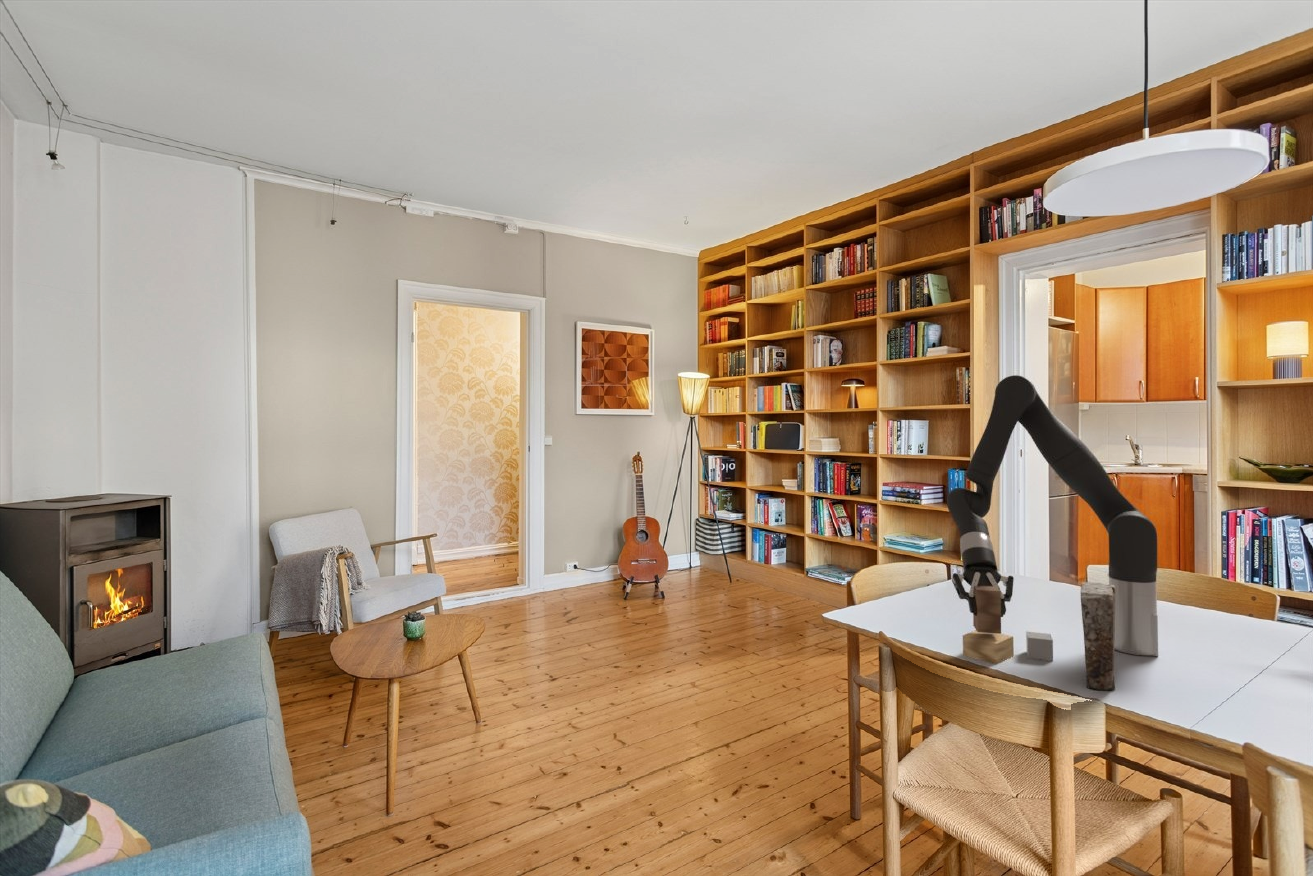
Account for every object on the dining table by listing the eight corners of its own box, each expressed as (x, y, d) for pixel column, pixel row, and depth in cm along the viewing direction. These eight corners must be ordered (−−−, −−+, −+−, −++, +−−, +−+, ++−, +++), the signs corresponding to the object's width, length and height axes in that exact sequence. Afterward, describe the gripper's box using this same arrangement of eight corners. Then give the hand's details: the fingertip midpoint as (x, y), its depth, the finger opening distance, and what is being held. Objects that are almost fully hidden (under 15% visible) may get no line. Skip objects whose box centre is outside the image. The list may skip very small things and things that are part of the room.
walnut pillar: (996, 627, 153) (995, 586, 153) (1001, 633, 148) (1000, 591, 148) (973, 625, 154) (972, 584, 154) (977, 632, 150) (977, 590, 149)
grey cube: (1050, 654, 151) (1050, 634, 151) (1053, 661, 147) (1052, 640, 147) (1026, 652, 153) (1026, 631, 153) (1028, 658, 149) (1027, 637, 149)
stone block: (1078, 668, 142) (1076, 579, 142) (1116, 673, 139) (1114, 582, 139) (1082, 689, 131) (1080, 592, 131) (1124, 695, 127) (1122, 596, 127)
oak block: (1013, 657, 150) (1013, 636, 150) (997, 665, 146) (996, 643, 146) (979, 648, 157) (979, 628, 157) (963, 656, 152) (962, 635, 152)
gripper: (948, 544, 160) (957, 604, 149) (1011, 546, 156) (1025, 608, 145) (945, 561, 165) (953, 620, 154) (1006, 563, 161) (1019, 624, 150)
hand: (988, 614), depth 149 cm, fingers closed on walnut pillar, 5 cm apart
